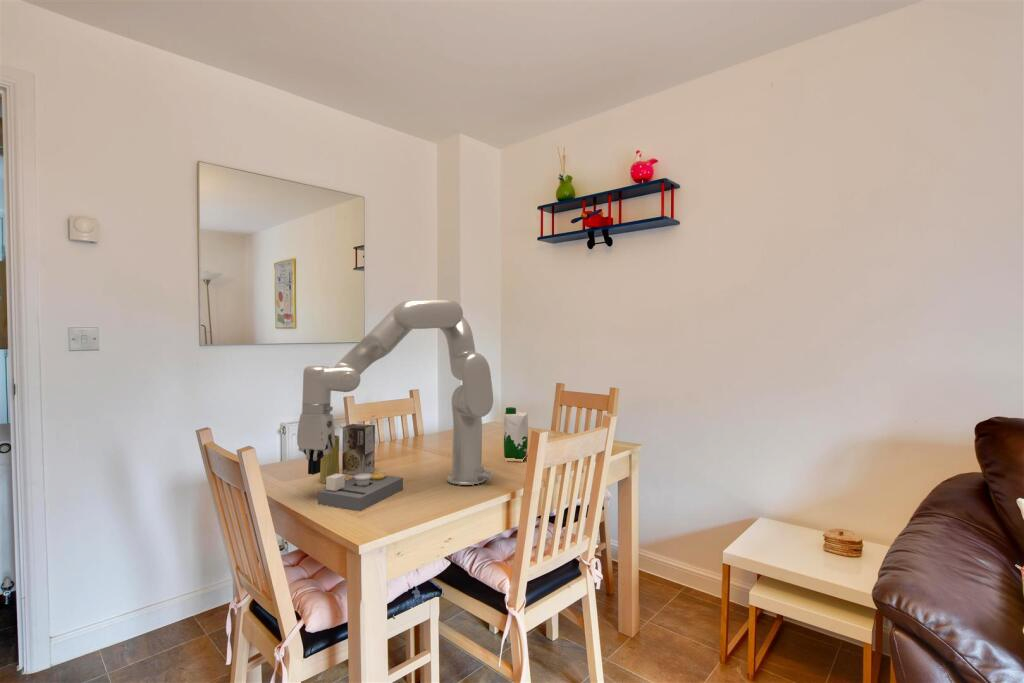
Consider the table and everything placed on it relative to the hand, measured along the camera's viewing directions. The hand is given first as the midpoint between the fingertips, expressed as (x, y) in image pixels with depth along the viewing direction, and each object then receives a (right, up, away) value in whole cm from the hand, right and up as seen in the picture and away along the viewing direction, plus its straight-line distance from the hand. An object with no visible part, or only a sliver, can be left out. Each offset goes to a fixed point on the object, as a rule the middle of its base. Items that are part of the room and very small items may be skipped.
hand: (314, 473), depth 142 cm
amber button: (+15, -6, +10) cm, 19 cm away
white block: (+7, -6, -2) cm, 9 cm away
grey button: (+13, -5, +3) cm, 14 cm away
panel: (+13, -8, +3) cm, 15 cm away
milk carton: (+58, -8, +50) cm, 77 cm away
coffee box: (+4, -8, +28) cm, 29 cm away
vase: (-2, -7, +18) cm, 19 cm away
